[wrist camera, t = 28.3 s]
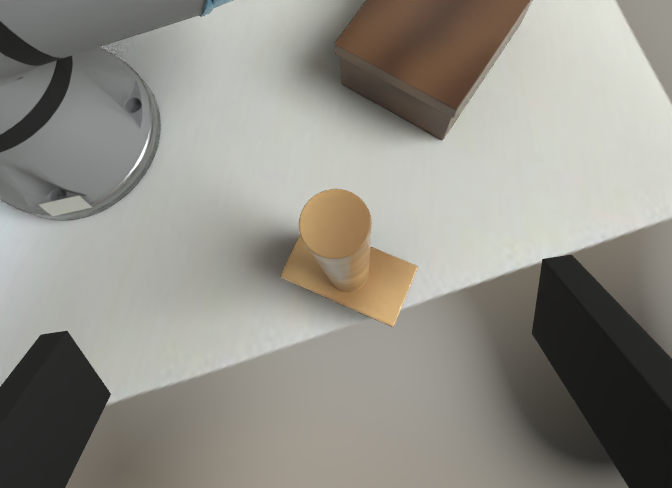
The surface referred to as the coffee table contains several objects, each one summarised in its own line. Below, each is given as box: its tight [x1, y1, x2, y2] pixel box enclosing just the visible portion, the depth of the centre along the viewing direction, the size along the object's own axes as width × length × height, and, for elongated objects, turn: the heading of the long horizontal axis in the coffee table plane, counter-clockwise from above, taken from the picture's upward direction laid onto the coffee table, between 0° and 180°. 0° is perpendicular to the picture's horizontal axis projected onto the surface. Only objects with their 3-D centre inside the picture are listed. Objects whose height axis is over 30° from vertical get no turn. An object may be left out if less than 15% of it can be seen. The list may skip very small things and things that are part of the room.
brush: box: [280, 189, 418, 327], centre depth 24 cm, size 8×4×16 cm, turn 66°
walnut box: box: [334, 0, 533, 140], centre depth 33 cm, size 11×13×5 cm
